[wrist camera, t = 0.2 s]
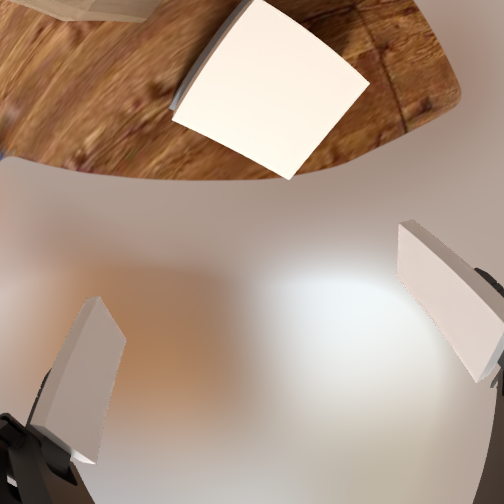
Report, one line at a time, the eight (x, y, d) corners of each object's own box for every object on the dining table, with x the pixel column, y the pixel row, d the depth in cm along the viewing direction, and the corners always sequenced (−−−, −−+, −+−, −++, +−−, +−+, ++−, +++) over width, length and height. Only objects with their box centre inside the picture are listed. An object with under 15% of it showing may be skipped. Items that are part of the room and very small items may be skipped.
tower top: (247, 2, 19) (257, -4, 16) (346, 73, 25) (369, 83, 22) (176, 105, 26) (171, 119, 22) (277, 158, 32) (289, 180, 29)
